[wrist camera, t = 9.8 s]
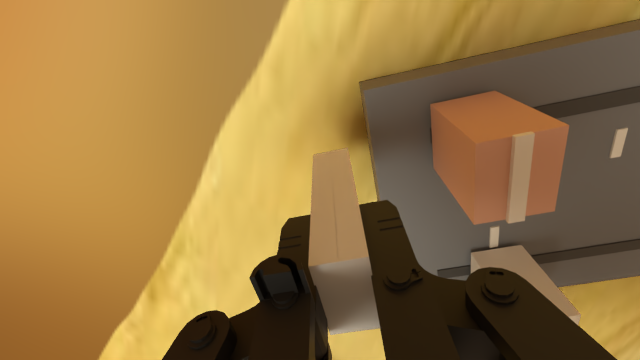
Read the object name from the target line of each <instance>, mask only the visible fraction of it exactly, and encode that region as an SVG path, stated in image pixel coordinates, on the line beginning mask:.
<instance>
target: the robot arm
mask: <svg viewBox="0 0 640 360" xmlns="http://www.w3.org/2000/svg"><path fill="white" fill-rule="evenodd" d="M278 249H279V250H278V252H277V255H275V256H272V257H269V258H267V259H266V260H264V261H262V262H261V263H260V264H259V265H258V266H257V267H256V268H255V269H254V270H253V272H252V274H251V276H250V280H251V283H252V285H253V287H254V289H255V291H256V293H257V296H258V298H259V300H260V303H258V304H257V305H256V306H254V307H252V308H251V309H249V310H247V311H245V312H242V313H240V314H238V315H236V316H233V317H231V318H228V317H227V316H226V315H225V313H223V312H220V311H217V310H215V311H207V312H205V313H202V314H200V315H198V316H196V317H195V318H193V319H192V320H191V321H189V322H188V323H187V324H186V325H185V327H184V328H183V329H182V330H181V331H180V333H179V334H178V336H177V337H176V339H175V340H174V342H173V343H172V345H171V347H170V348H169V350H168V351H167V353H166V354H165V356H164V357H163V359H162V360H332V354H331V350H330V346H329V343H328V329H329V332H330V335H333V334H340V333H348V332H355V331H362V330H369V329H377V328H380V329H381V335H382V340H383V346H384V351H385V356H386V360H617V359H616V358H614V357H613V356H612V355H611V354H610V353H609V352H608V351H607V350H605V349H604V348H603V347H602V346H601V345H600V344H599V343H597V342H596V341H595V340H594V339H593V338H592V337H591V336H589V335H588V334H587V333H586V332H585V331H584V330H583V329H582V328H580V327H579V326H578V325H577V324H576V323H575V322H574V321H572V320H571V319H570V318H569V317H568V316H567V315H566V314H564V313H563V312H562V311H561V310H560V309H559V308H558V307H557V306H555V305H554V304H553V303H552V302H551V301H550V300H549V299H547V298H546V297H545V296H544V295H543V294H542V293H541V292H539V291H538V290H537V289H536V288H535V287H534V286H533V285H532V284H530V283H529V282H528V281H527V280H526V279H524V278H523V277H521V276H520V275H518V274H517V273H515V272H512V271H509V270H506V269H503V268H496V267H486V268H481V269H477V270H476V271H474V272H473V273H471V274H470V275H469V276H468V278H467V280H456V279H448V278H443V277H438V276H436V275H433V274H431V273H429V272H428V271H426V270H425V269H423V268H422V267H421V266H420V265H419V263H418V261H417V259H416V257H415V254H414V252H413V249H412V246H411V244H410V241H409V238H408V236H407V233H406V230H405V228H404V225H403V223H402V220H401V218H400V215H399V212H398V209H397V207H396V206H395V205H393V204H392V203H391V202H390V201H388V200H382V201H377V202H371V203H366V204H360V205H359V203H358V198H357V193H356V188H355V183H354V177H353V172H352V167H351V162H350V157H349V152H348V148H344V149H339V150H334V151H329V152H324V153H319V154H314V155H313V173H312V195H311V215H305V216H300V217H294V218H289V219H288V220H287V222H286V223H285V225H284V226H283V227H282V229H281V235H280V241H279V247H278Z"/></svg>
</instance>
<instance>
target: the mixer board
mask: <svg viewBox="0 0 640 360" xmlns="http://www.w3.org/2000/svg"><path fill="white" fill-rule="evenodd" d="M359 84H360V91H361V97H362V103H363V110H364V116H365V123H366V129H367V135H368V142H369V148H370V155H371V161H372V168H373V174H374V180H375V187H376V193H377V200H378V201H382V200H388V201H390V202H391V203H392V204H393V205H395V206H396V207H397V209H398V212H399V215H400V218H401V220H402V223H403V225H404V228H405V230H406V233H407V236H408V238H409V241H410V244H411V246H412V249H413V252H414V254H415V257H416V259H417V261H418V263H419V265H420V266H421V267H422V268H423V269H425V270H426V271H428V272H429V273H431V274H433V275H436V276H438V277H443V278H448V279H456V280H467V278H468V276H469V275H470V274H471V253H472V252H479V251H485V250H491V249H498V248H504V247H510V246H517V245H522V246H523V247H524V249H525V250H526V251H527V252H528V253H529V254H530V256H531V257H532V258H533V259H534V260H535V262H536V263H537V264H538V265H539V266H540V267H541V269H542V270H543V271H544V272H545V273H546V274H547V276H548V277H549V278H550V279H551V280H552V281H553V283H554V284H555V285H556V286H557V287H564V286H571V285H578V284H585V283H592V282H599V281H606V280H613V279H620V278H627V277H634V276H640V19H639V20H635V21H630V22H626V23H621V24H617V25H612V26H608V27H603V28H599V29H594V30H590V31H585V32H581V33H576V34H572V35H567V36H563V37H559V38H554V39H550V40H545V41H541V42H536V43H532V44H527V45H523V46H518V47H514V48H509V49H505V50H500V51H496V52H491V53H487V54H482V55H478V56H474V57H469V58H465V59H460V60H456V61H451V62H447V63H442V64H438V65H433V66H429V67H424V68H420V69H415V70H411V71H406V72H402V73H397V74H393V75H389V76H384V77H380V78H375V79H371V80H366V81H362V82H359ZM490 91H497V92H499V93H501V94H503V95H506V96H508V97H510V98H512V99H514V100H516V101H518V102H521V103H523V104H525V105H527V106H529V107H531V108H533V109H536V110H538V111H540V112H542V113H544V114H546V115H549V116H551V117H553V118H555V119H557V120H559V121H561V122H564V123H566V124H568V125H569V131H568V136H567V142H566V148H565V154H564V160H563V166H562V172H561V177H560V183H559V189H558V195H557V201H556V207H555V211H553V212H547V213H541V214H535V215H530V216H525V221H521V222H515V223H509V224H508V223H507V222H506V220H500V221H494V222H488V223H482V224H476V225H474V224H473V223H472V221H471V220H470V219H469V217H468V216H467V214H466V213H465V212H464V210H463V209H462V207H461V206H460V205H459V203H458V202H457V200H456V199H455V198H454V196H453V195H452V193H451V192H450V190H449V189H448V188H447V186H446V185H445V183H444V182H443V181H442V179H441V178H440V176H439V175H438V174H437V172H436V171H435V169H434V168H433V149H432V129H431V110H430V104H433V103H438V102H443V101H448V100H452V99H457V98H462V97H467V96H471V95H476V94H481V93H486V92H490Z"/></svg>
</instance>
